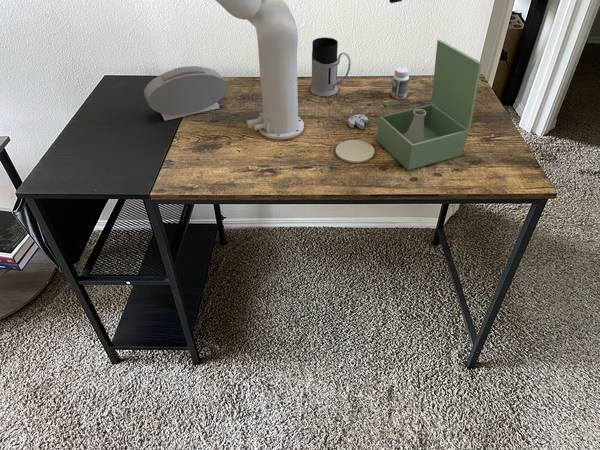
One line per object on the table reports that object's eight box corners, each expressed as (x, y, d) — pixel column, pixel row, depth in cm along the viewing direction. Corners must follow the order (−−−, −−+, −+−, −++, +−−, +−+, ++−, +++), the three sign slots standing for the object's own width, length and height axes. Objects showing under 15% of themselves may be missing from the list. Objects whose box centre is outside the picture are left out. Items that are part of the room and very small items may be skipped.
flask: (430, 154, 115) (437, 119, 108) (401, 154, 115) (407, 119, 108) (425, 139, 120) (431, 104, 113) (397, 139, 120) (402, 104, 113)
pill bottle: (408, 94, 141) (412, 67, 135) (404, 100, 137) (408, 74, 132) (393, 91, 142) (396, 65, 136) (389, 97, 139) (392, 71, 133)
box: (407, 170, 111) (412, 145, 106) (376, 140, 121) (379, 116, 116) (462, 155, 115) (468, 130, 110) (427, 127, 126) (432, 103, 121)
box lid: (479, 63, 98) (481, 62, 98) (437, 40, 109) (439, 39, 109) (467, 129, 110) (470, 128, 110) (431, 102, 120) (433, 102, 121)
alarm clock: (224, 98, 141) (218, 57, 132) (230, 106, 137) (225, 65, 128) (149, 114, 134) (138, 73, 125) (153, 124, 129) (142, 81, 121)
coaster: (346, 166, 112) (346, 164, 112) (329, 146, 119) (329, 144, 119) (381, 157, 115) (381, 155, 115) (362, 138, 122) (362, 136, 122)
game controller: (359, 132, 124) (360, 123, 123) (326, 119, 130) (326, 110, 128) (371, 124, 127) (372, 115, 126) (338, 111, 133) (339, 103, 131)
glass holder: (323, 81, 148) (323, 34, 138) (357, 94, 141) (360, 46, 131) (304, 90, 144) (304, 42, 134) (338, 104, 136) (340, 55, 126)
